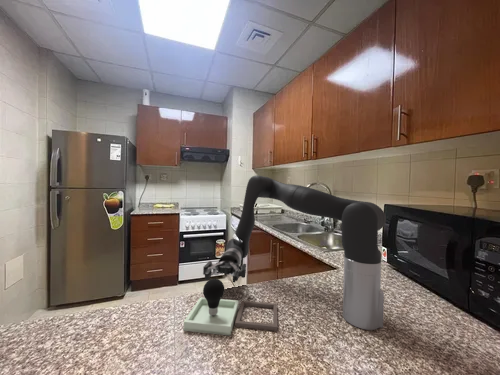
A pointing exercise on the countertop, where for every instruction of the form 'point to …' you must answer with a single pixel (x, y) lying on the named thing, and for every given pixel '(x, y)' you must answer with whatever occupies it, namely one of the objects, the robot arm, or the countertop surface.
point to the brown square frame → (255, 324)
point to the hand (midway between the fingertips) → (220, 278)
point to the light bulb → (213, 294)
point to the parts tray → (212, 317)
